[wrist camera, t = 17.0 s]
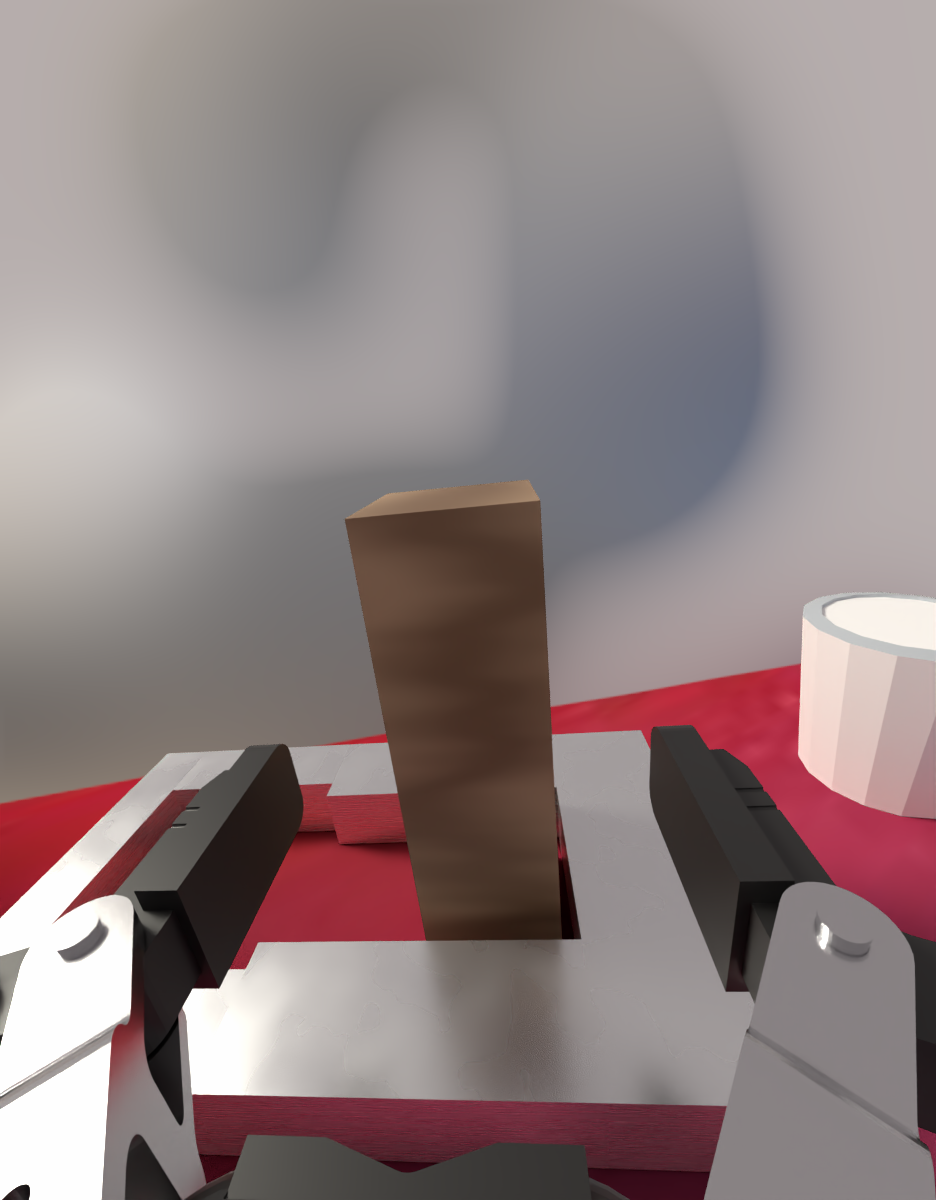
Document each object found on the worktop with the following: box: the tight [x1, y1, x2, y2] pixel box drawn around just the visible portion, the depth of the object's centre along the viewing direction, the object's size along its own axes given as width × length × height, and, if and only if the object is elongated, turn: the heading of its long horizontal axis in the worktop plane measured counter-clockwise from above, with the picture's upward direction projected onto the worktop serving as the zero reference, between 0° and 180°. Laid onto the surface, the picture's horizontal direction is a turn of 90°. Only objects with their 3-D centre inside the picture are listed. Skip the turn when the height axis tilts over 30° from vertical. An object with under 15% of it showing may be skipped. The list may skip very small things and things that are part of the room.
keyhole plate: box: [0, 730, 755, 1172], centre depth 16 cm, size 22×12×2 cm, turn 86°
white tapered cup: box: [798, 592, 936, 819], centre depth 19 cm, size 7×7×7 cm
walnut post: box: [345, 480, 562, 941], centre depth 14 cm, size 4×4×14 cm
